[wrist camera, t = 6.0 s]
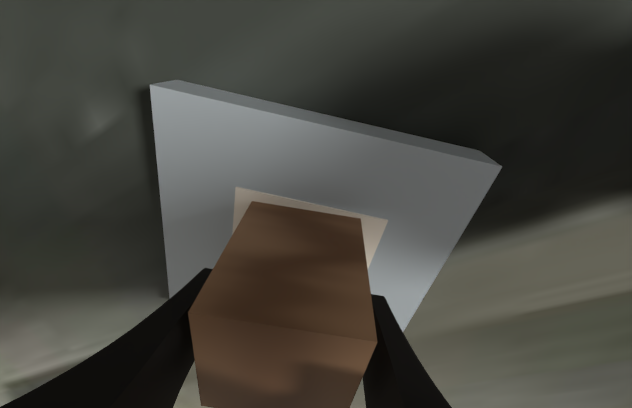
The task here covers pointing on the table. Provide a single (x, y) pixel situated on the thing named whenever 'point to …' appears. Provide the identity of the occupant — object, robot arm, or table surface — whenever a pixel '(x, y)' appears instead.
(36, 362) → the table surface
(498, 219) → the table surface
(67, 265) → the table surface
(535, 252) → the table surface
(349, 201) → the base board
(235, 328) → the walnut block
